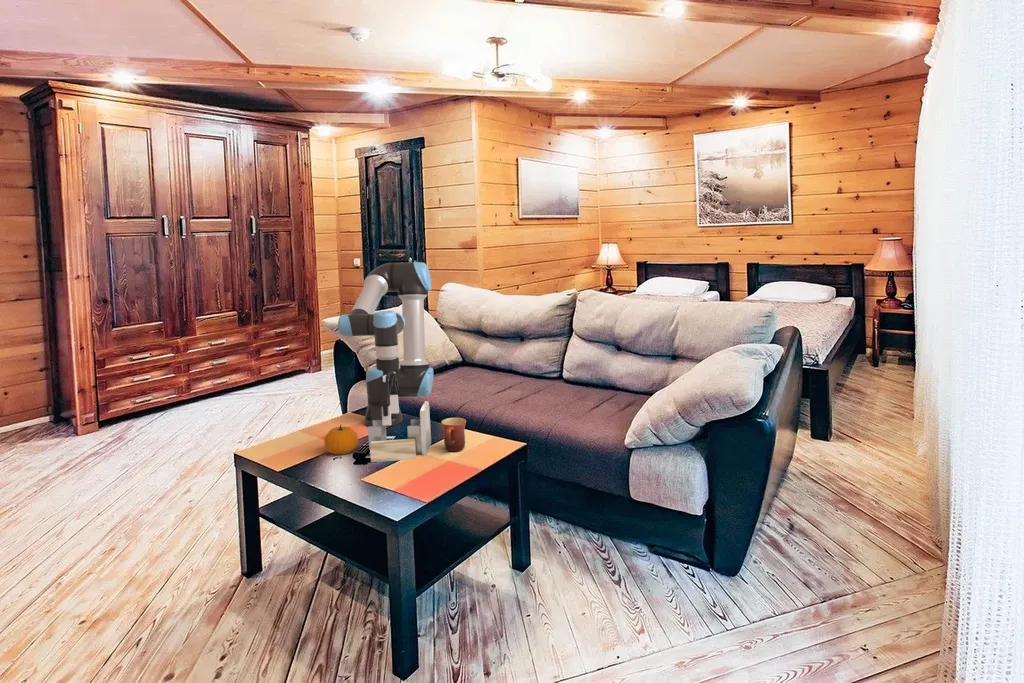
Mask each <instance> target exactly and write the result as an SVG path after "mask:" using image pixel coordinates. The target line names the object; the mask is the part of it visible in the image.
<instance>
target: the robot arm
mask: <svg viewBox="0 0 1024 683" xmlns="http://www.w3.org/2000/svg"><path fill="white" fill-rule="evenodd" d="M431 290H432V280H431V274H430V270H429V267H428V265H427V263H425V262H421V261H419V262H418V261H408V262H406V261H405V262H387V263H383V264H381V265H379V266H377V267H375V268H373V270H372V271H370V272H369V273H368V274H367V276H366V277H365V279H364V280H363V288H362V290H361V291H360V294H359V296H358V298H357V300H356V301H355V303H354V305H353V308H352V309H351V310H350V313H349V314H348V313H346V314H341V315H340V316H339V317H338V321H337V325H338V326H337V328H338V331H339V334H340V335H341V336H342V337H365V336H366V337H368V336H373V337H374V348H373V351H374V352H375V357H376V358H375V363H376V364H375V365H376V366H373V367H370V368H369V369H367V371H366V374H365V376H366V377H365V379H366V380H365V384H366V393H367V394H366V395H367V396H366V397H367V407H366V412H365V415H364V424H365V426H367V427H371V426H373V420H382V422H383V425H386V427H387V428H388V427H393V426H396V425H398V424H401V423H402V422H403V414H402V411H401V408H400V406H399V398H423V397H428V396H429V395H430V394H431V391H432V389H433V385H434V384H433V383H434V368H433V367H432V366H431V367H430V363H429V362H428V361H427V359H426V347H425V346H426V344H425V340H426V339H425V307H424V306H425V305H424V304H425V302H424V301H425V299H426V298H427V297H428V292H430V291H431ZM390 292H391V293H397V296H398V297H399V299H400V300H401V303H402V304H401V306H402V308H401V309H402V314H401V313H400V312H396V311H394V310H379V311H376V310H377V307H378V306H379V303H380V301H381V299H382V297H383V296H385V294H387V293H390ZM375 311H376V312H375ZM400 333H402V343H403V345H402V346H403V347H402V348H403V349H402V350H403V360H402V361H401V362H400V358H399V355H400V352H399V350H400V349H399V340H398V338H399V337H398V334H400Z"/></svg>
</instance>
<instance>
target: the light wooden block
mask: <svg viewBox="0 0 1024 683" xmlns="http://www.w3.org/2000/svg"><path fill="white" fill-rule="evenodd" d="M369 455H370V463H380V462H383V463H384V462H394V461H395V462H396V461H405V460H406V461H409V460H416V459H417V453H416V445H415V439H408V438H404V439H387V441H372V442H371V444H370V452H369Z"/></svg>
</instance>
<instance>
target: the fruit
mask: <svg viewBox="0 0 1024 683" xmlns="http://www.w3.org/2000/svg"><path fill="white" fill-rule="evenodd" d="M358 445H359V437H358V434H357V432H356V431H355V430H354V429H352V428H351V427H350V426H342V424H340V425H339V426H335V427H333V428H332V429H330V430H329V431H328V432H327V433H326V435H325V437H324V448H325V450H326V451H327V452H328V453H330V454H333V455H338V456H339V455H340V456H341V455H346V454H349V453H352V452H353V451H355V449H356V448H357V447H358Z"/></svg>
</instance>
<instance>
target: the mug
mask: <svg viewBox="0 0 1024 683" xmlns="http://www.w3.org/2000/svg"><path fill="white" fill-rule="evenodd" d="M466 423H467V420H466V419H465V418H463V417H448V418H444V419H442V420H441V426H442V428H443V429H442V430H443V445H444V449H445V450H446V451H448V452H450V453H455V452H456V453H458V452H460V451H463V450H464V449H465V447H466V436H465V429H466V428H465V427H466Z"/></svg>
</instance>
